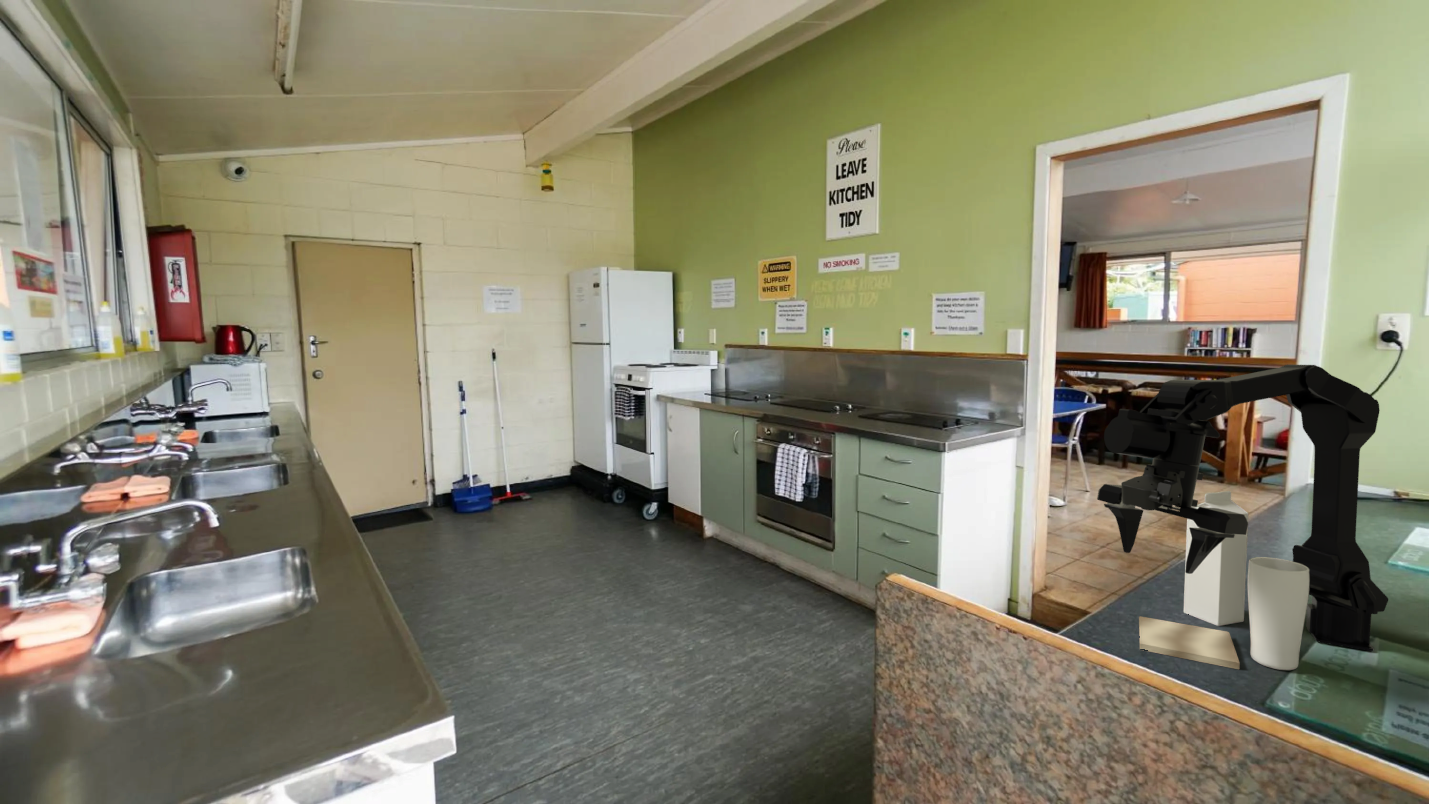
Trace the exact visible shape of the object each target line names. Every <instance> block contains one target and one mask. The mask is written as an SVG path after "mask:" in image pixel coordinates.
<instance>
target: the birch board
mask: <svg viewBox="0 0 1429 804" xmlns="http://www.w3.org/2000/svg"><path fill="white" fill-rule="evenodd" d="M1138 627H1139V628H1138V630H1139V636H1140V638H1139V650H1140V649H1145V650H1148V651H1147V652H1150V653H1156V654H1161V655H1165V656H1170V657H1175V658H1180V659H1185V660H1190V661H1196V662H1200V663H1204V664H1210V665H1215V666H1221V667H1225V668H1229V669H1235V670H1240V665H1241V664H1240V660H1239V657H1238V655H1237V651H1236V648H1235V646H1234V645H1235V644H1234V642H1233V640H1232V637H1231V634H1230V632H1229V631H1226V630H1220V629H1214V628H1209V627H1203V626H1197V625H1192V624H1185V623H1180V622H1179V623H1178V622H1174V621H1170V620H1163V619H1159V618H1158V619H1157V618H1153V617H1152V618H1151V617H1146V616H1138Z"/></svg>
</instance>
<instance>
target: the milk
mask: <svg viewBox="0 0 1429 804" xmlns="http://www.w3.org/2000/svg"><path fill="white" fill-rule="evenodd" d="M1199 507H1208V508H1218V509H1222V510H1227V511H1231V512H1235V513H1239V514H1243V515H1244V516H1245V518H1246V519H1247V522H1248V523H1249V512H1247V511H1246V510H1245V509H1244V508H1243V507H1241V506H1240V505H1238V504H1237V502H1234V501H1233V500H1232V492H1231V491H1230V490H1227V491H1219V492H1208V493H1205V495H1204V502H1202V503H1199V504H1198V503H1197V507H1193V508H1197V509H1198V508H1199ZM1190 527H1191V528H1199V527H1198V526H1197V525H1196V524H1195V522H1194V521H1193V520H1191V519H1187V518H1186V535H1185V537H1186V538H1185V539H1186V541H1185V563H1184V564H1185V566H1184V589H1183V590H1184V594H1183V613H1184V614H1185V615H1186V614H1187V615H1188V614H1189V616H1191V617H1194V618H1196V619H1199V620H1202V621H1204V622H1206V623H1209V624H1211V625H1215V626H1216V627H1220V626H1225V625H1226V626H1227V625H1230V624H1231V625H1232V624H1237V623H1242V622H1244V621H1245V619H1244V618H1245V600H1246V581H1247V579H1246V576H1247V554H1248V536H1249V535H1248V533H1249V532H1248V529H1249V526H1248V527H1247V532H1246V535H1241V534H1235V536H1234V538H1225V539H1224V540H1223V541H1222V542H1221V543H1220V544H1219V545H1217V546H1216V547H1215V548H1214V549H1213V550H1212V551H1211V552H1210V553H1209V554H1208V556H1207V557H1206V558H1205V559H1204V560H1203V561H1202V563H1201V564H1200V565H1199V566H1198V567H1197V569H1196V570H1195V571H1194V572H1193V573H1192V574H1188V573H1186V572H1185V571H1186V561H1187V557H1188V553H1189V549H1190V545H1191V541H1192V536H1191V532H1190V529H1189V528H1190Z"/></svg>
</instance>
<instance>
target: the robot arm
mask: <svg viewBox="0 0 1429 804" xmlns="http://www.w3.org/2000/svg"><path fill="white" fill-rule="evenodd" d="M1160 387H1161V388H1159V390H1158V393H1157V394H1156V395H1155V396H1154V397H1152V399H1151V400H1149V402H1148V403H1146V405H1144V407H1143V408H1141V410H1140V411H1138V410H1134V409H1126V408H1120V409H1119V410H1118V413H1117V416H1115V417H1114V418H1112V419H1111V421H1110V422H1109V423H1108V425H1107V426H1106V427H1105V429H1104V432H1103V433H1104V434H1103V438H1104V439H1103V440H1104V445H1105V446H1106V449H1107V450H1108V451H1109V452H1111V453H1113V454H1118V455H1125V456H1131V457H1137V458H1138V457H1139V458H1144V459H1152V464H1146V466H1145V468H1144V470H1143V473H1142V474H1141V475H1139V476H1134V477H1133V478H1130V479H1128V480H1125V481H1122V482H1121V484H1120V485H1119V484H1108V483H1103V485H1102V486H1100V488H1099V489H1098V492H1097V496H1096V501H1097V500H1098V501H1100V502H1103V506H1104V508H1107V509H1108V510H1110V511H1111V513H1112V514H1113V515H1114V517H1115V520H1116V522H1117V527H1118V531H1119V535H1120V540H1121V547H1122V549H1123V552H1124V553H1126V554H1130V553H1131V552H1132V549H1133V547H1134V544H1135V541H1136V539H1137V535H1138V531H1139V527H1140V524H1141V520H1142V516H1143V514H1144V511H1157V512H1161V513H1165V514H1168V515H1171V516H1177V517H1179V518H1183V519H1186V520H1187V519H1191V520H1193V521H1194V522H1195V524H1196V525H1197V526H1198V527H1199V528H1191V527H1190V528H1189V529H1190V532H1191V536H1192V541H1191V545H1190V549H1189V553H1188V557H1187V561H1186V560H1185V562H1186V571H1185V570H1184V573H1185V572H1186V573H1188V574H1192V573H1193V572H1194V571H1195V570H1196V569H1197V567H1198V566H1199V565H1200V564H1201V563H1202V561H1203V560H1204V559H1205V558H1206V557H1207V556H1208V554H1209V553H1210V552H1211V551H1212V550H1213V549H1214V548H1215V547H1216V546H1217V545H1219V544H1220V543H1221V542H1222V541H1223V540H1224V539H1225V538H1234V536H1235V534H1241V535H1246V532H1247V527H1248V528H1249V521H1248V522H1247V519H1246V518H1245V516H1244V515H1243V514H1239V513H1235V512H1231V511H1227V510H1222V509H1218V508H1208V507H1199V508H1198V509H1197V508H1193V507H1197V505H1198V501H1199V500H1198V499H1194V495H1195V491H1196V486H1197V480H1198V481H1203V478H1204V473H1202V472H1199V469H1200V464H1201V460H1202V455H1203V451H1204V444H1205V441H1206V440H1205V439H1206V437H1210V438H1214V439H1215V438H1216V439H1218V438H1220V436H1221V434H1220V433H1219V432H1218V430H1217V429H1216V428H1215V427H1214V426H1212V424H1211V422H1210V421H1209V420H1211V419H1213V418H1215V417H1218V416H1221V415H1223V414H1226V413H1227V412H1229V411H1230V410H1231V409H1232V408H1233V407H1236V406H1238V405H1241V404H1245V403H1251V402H1256V401H1261V400H1267V399H1272V398H1277V397H1281V396H1286V400H1287V402H1288V404H1289V405H1291V406H1292V407H1293V408H1294V409H1296V410H1298V411H1299V413H1300V414H1301V415H1300V416H1301V424H1302V425H1301V426H1302V429H1303V431H1304V432H1305V433H1306V435H1307V437H1308V438H1309V439H1310V441H1311V442H1312V443H1311V444H1313V446H1314V461H1313V462H1314V464H1313V465H1314V466H1313V486H1312V488H1313V489H1312V490H1313V492H1312V508H1311V509H1312V512H1311V531H1310V532H1311V533H1310V535H1309V537H1308V538H1307V540H1305V541H1304V542H1303V543H1302V544H1301V545H1300V544H1294V545H1293V547H1292V561H1293V562H1296V563H1299V564H1302V565H1304V566H1306V567H1308V568H1309V576H1310V585H1309V596H1311V603H1308V605H1307V611H1306V617H1305V622H1306V623H1305V627H1306V629H1307V631H1308V633H1309V634H1311V636H1312V637H1313V639H1314V641H1315V642H1318V643H1321V644H1327V645H1332V646H1333V645H1334V646H1339V647H1344V648H1349V649H1356V650H1357V649H1358V650H1361V651H1368V652H1374V650H1375V649H1374V647H1373V645H1372V644H1371V642H1370V641H1371V629H1372V628H1371V627H1372V615H1378V613H1380V612H1381V613H1382V612H1384V611H1385V610H1386V607H1387V604H1388V602H1389V597H1388V596H1387V595H1386V594H1385V593H1384V592H1383V591H1382V590H1381V589H1380V587H1378V585H1377V584H1376V583H1375V582H1374V581H1373V580H1372V578H1371V572H1370V571H1371V570H1370V563H1369V562H1370V561H1369V559H1368V558H1367V557H1366V555H1365V553H1364V552H1363V550H1362V549H1361V547H1360V546H1359V544H1358V543H1357V539H1356V538H1357V537H1356V534H1357V518H1358V517H1357V516H1358V496H1359V495H1358V494H1359V474H1360V473H1359V472H1360V453H1361V452H1360V451H1361V449H1362V448H1363V446H1364V445H1365V444H1366V443H1367V442H1368V441H1369V440H1370V439H1371V438H1372V436H1374V434H1375V433H1376V430H1377V424H1378V421H1379V416H1380V403H1379V401H1378V400H1377V399H1375V398H1374V397H1373V395H1372V394H1370V393H1368V392H1367V391H1366V392H1365V391H1363V390H1362V389H1361V388H1359V387H1358V386H1357V385H1355V384H1351V383H1350V382H1348V381H1346V380H1343V379H1341V378H1338V377H1337V376H1334V375H1332V374H1330V373H1329V372H1328V371H1327V370H1325V369H1324V368H1323V367H1320V366H1319V365H1318V366H1317V365H1316V364H1285V365H1282V366H1280V367H1277V368H1271V369H1267V370H1261V371H1257V372H1256V371H1255V372H1252V373H1246V374H1242V375H1235V376H1231V377H1226V378H1220V379H1171V380H1168V381H1165V382H1164V383H1162V384H1161V386H1160Z"/></svg>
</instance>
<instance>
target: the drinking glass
mask: <svg viewBox="0 0 1429 804" xmlns="http://www.w3.org/2000/svg"><path fill="white" fill-rule="evenodd" d="M1247 568H1248V569H1247V579H1246V581H1247V582H1246V583H1247V586H1246V587H1247V590H1246V591H1247V602H1248V603H1247V604H1248V606H1247V607H1248V618H1249V621H1248V622H1249V632H1250V633H1249V636H1250V649H1249V650H1250V653H1249V654H1250V657H1251V659H1252V660H1253V661H1254V662H1256V663H1258V664H1260V665H1261V666H1264V667H1268V668H1270V669H1275V670H1278V671H1279V670H1280V671H1292V670H1295V669H1298V667H1299V663H1300V662H1299V661H1300V653H1301V651H1300V650H1301V644H1302V640H1303V639H1302V638H1303V633H1304V626H1305V622H1306V617H1307V605H1308V604H1309V597H1310V595H1309V585H1310V576H1309V568H1308V567H1306V566H1304V565H1302V564H1299V563H1296V562H1293V560H1287V559H1283V558H1276V557H1264V556H1258V557H1252V558H1250V559H1249V560H1248V567H1247Z"/></svg>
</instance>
